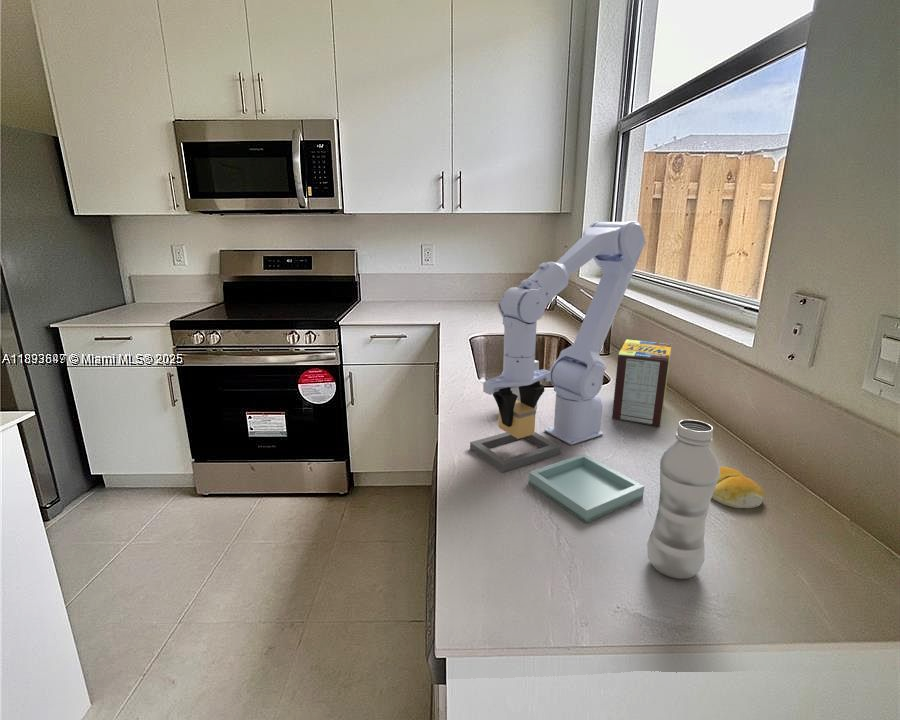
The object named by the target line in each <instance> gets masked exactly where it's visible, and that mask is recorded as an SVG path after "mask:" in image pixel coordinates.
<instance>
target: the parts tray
mask: <svg viewBox="0 0 900 720" xmlns="http://www.w3.org/2000/svg"><path fill="white" fill-rule="evenodd" d="M528 484H529V485H530V486H531V487H532V488H534V489H536V490H537V491H538V492H540V493H541V494H543V495H544V496H546V497H547V498H549V499H550V500H551V501H553V502H554V503H556V504H557V505H558V506H560V507H561V508H563V509H565V510H566V511H568V512H569V513H570V514H572V515H573V516H575V517H576V518H577V519H579V520H580V521H582V522H583V523H585V524H588V523H590V522H592V521H594V520H597V519H599V518H601V517H604V516H606V515H608V514H610V513H613V512H615V511H617V510H620V509H621V508H624V507H626V506H628V505H630V504H633V503H636V502H637V501H640V500H641V499H643V498H644V493H645V485H643V484H642V483H640V482H638V481H635V480H634V479H632V478H630V477H628V476H627V475H625V474H623V473H622V472H619V471H617V470H616V469H613V468H611V467H609V466H608V465H606V464H604V463H603V462H600V461H599V460H597V459H596V458H593V457H591V456H589V455H587V454H585V453H581V454H578V455H575V456H572V457H569V458H567V459H564V460H561V461H557V462H555V463H552V464H549V465H545V466H543V467H539V468H537V469H534V470H531V471H528Z"/></svg>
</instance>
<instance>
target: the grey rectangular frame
mask: <svg viewBox="0 0 900 720" xmlns="http://www.w3.org/2000/svg"><path fill="white" fill-rule="evenodd" d="M521 439H526V440H528V441H529V442H531V443H533V444H535V445H536V446H538V447H539V448H536V449H533V450H530V451H527V452H522V453H520V454H517V455H514V456H511V457H507V458H504V457H502V456H500V455H499V454H497V453H496V452H495V451H493V450H492V449H490V448H494V447H498V446H501V445H504V444H506V443H510V442H514V441H517V440H521ZM469 449H470V450H471V451H472V452H473V453H474V454H476V455H477V456H479V457H480V458H481V459H483V460H484V461H486V462H487V463H489V464H490V465H491V466H493V467H494V468H496V469H497V470H499V471H500V472H501V473H506V472H509V471H511V470H514V469H517V468H520V467H523V466H526V465H530V464H532V463H536V462H539V461H542V460H545V459H548V458H551V457H555V456H557V455H560V454H561V453H562V445H560V444H557V443H555V442H554V441H552V440H550V439H549V438H547V437H544V436H543V435H541V434H540V433H537V431H534V434H533V435H529V436H526V437H522V438H519V439H517V438H515V437H514V436H512V435H510V434H509V433H507V432H505V431H504V432H503V433H499V434H495V435H492V436H488V437H484V438H481V439H477V440H473V441H470V443H469Z"/></svg>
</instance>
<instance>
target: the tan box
mask: <svg viewBox="0 0 900 720" xmlns="http://www.w3.org/2000/svg"><path fill="white" fill-rule="evenodd" d="M536 414H537V409H534V408H532V407H530V406H528V405H525V404H523V403H521V402H519V401H517V400H516V402H515V406H514V410H513V422H512V426H511V427H507V426H506V425H504V424H502V419H501V415H500V411H499V410H498V424H497V427H498V428H499V429H500V430H502V431H504V433H505V432H507V433H509V434H510V435H512V436H514V437H515V438H517V439H518V440H520V439H519V438H522V437H526V436H529V435H533V434H534V432H536V431H535V428H536ZM522 439H523V438H522Z"/></svg>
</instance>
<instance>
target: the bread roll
mask: <svg viewBox="0 0 900 720" xmlns="http://www.w3.org/2000/svg"><path fill="white" fill-rule="evenodd" d="M764 498H765V494H764V491H763V488H761V486H760V485H759V484H758V483H757V482H755V480H753V479H751V478H749V477H746V476H745V474H743V473H742V472H741V471H739V469H735V468H731V467H728V466H720V476H719V480H718V482H717V485H716V487H715V490H714V493H713V495H712V498H711V499H713V500H714V501H715V502H718V503H720V504H721V505H724V506H727V507H730V508H734V509H754V508H757V507H759V506H760V505H762V503H763V499H764Z"/></svg>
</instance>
